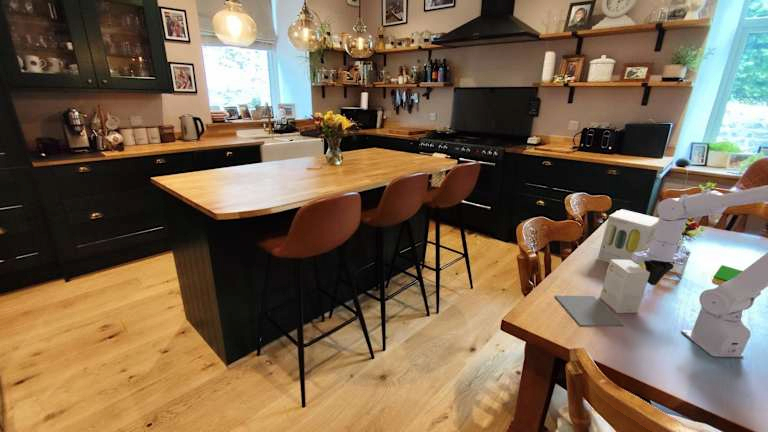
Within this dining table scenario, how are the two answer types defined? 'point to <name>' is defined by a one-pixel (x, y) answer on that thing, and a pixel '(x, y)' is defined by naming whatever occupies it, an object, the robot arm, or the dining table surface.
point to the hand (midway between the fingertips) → (651, 283)
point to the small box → (624, 286)
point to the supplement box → (627, 235)
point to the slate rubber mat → (588, 311)
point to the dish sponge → (725, 274)
